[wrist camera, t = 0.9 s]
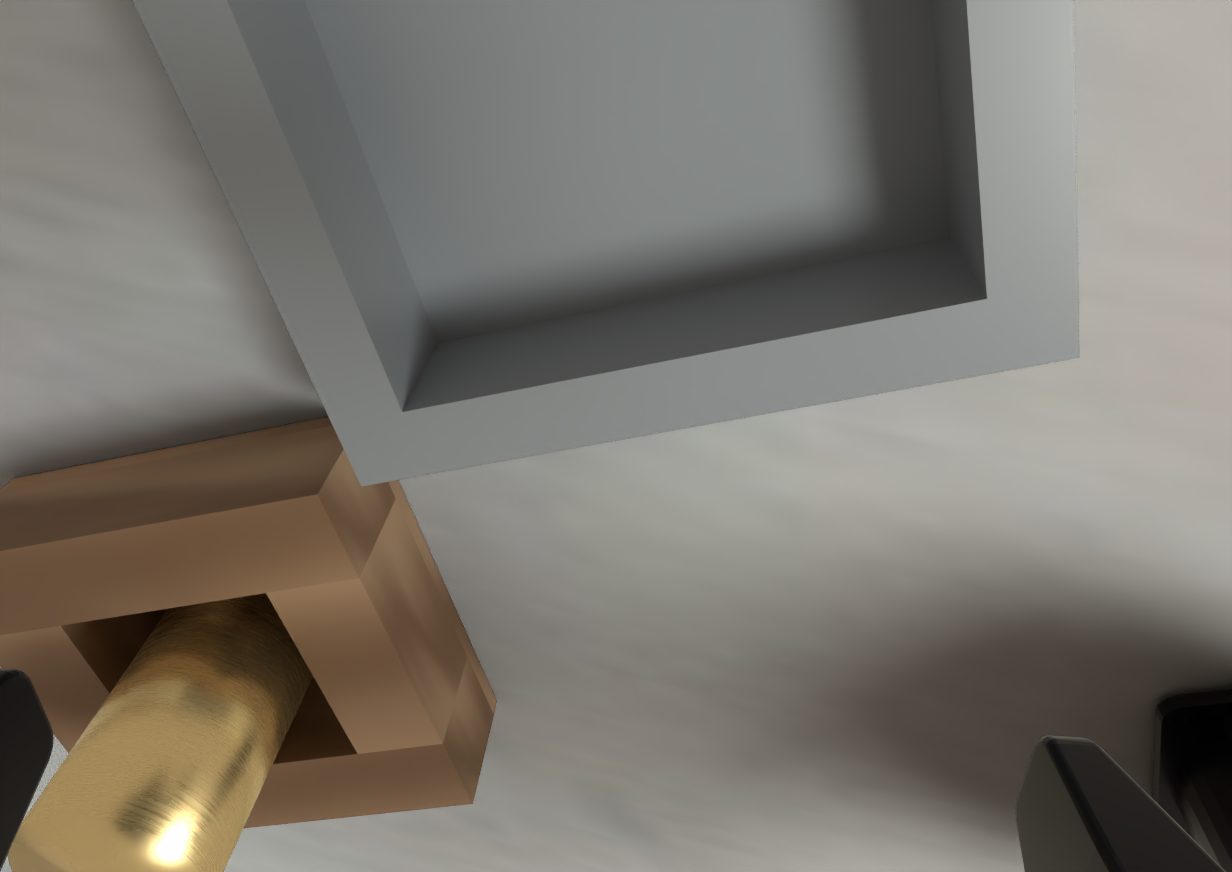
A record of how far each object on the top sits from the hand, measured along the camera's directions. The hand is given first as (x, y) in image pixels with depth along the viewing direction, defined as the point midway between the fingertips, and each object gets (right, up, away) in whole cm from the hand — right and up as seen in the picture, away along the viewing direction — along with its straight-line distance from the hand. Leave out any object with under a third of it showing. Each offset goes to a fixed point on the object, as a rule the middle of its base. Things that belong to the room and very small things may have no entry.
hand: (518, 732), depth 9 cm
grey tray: (+1, +10, +10) cm, 14 cm away
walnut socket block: (-9, -2, +18) cm, 20 cm away
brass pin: (-9, -2, +18) cm, 20 cm away
